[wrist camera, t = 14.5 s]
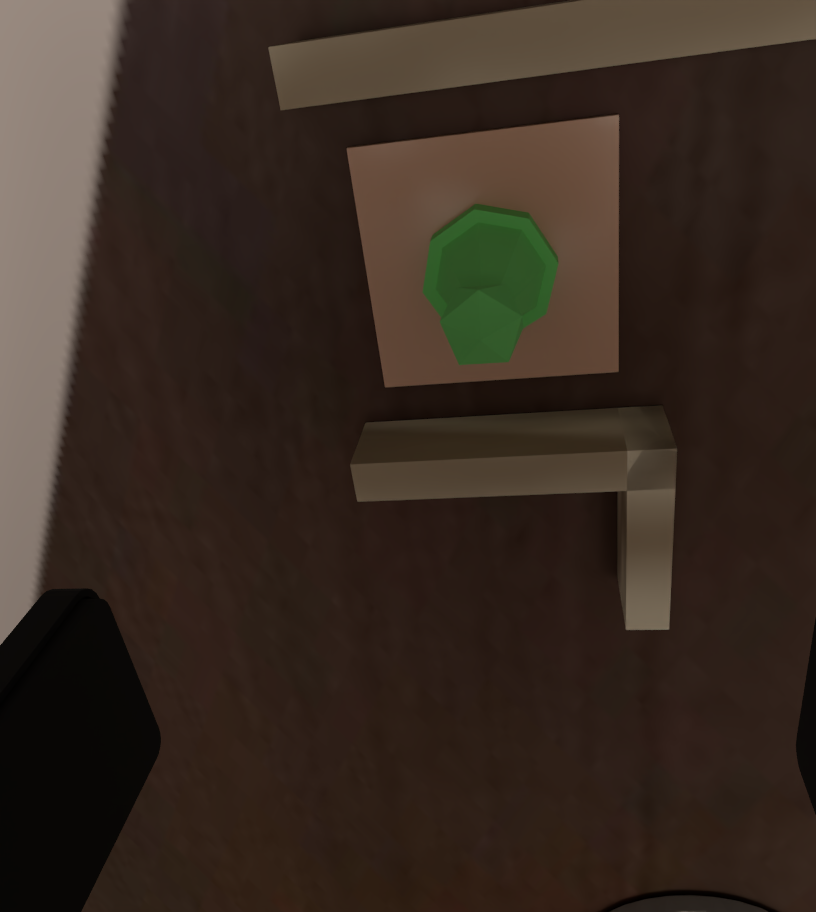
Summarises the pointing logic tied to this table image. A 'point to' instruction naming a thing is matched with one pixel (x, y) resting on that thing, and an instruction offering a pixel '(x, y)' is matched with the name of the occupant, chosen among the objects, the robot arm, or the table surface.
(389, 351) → the bent track
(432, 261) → the game piece
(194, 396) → the table surface
